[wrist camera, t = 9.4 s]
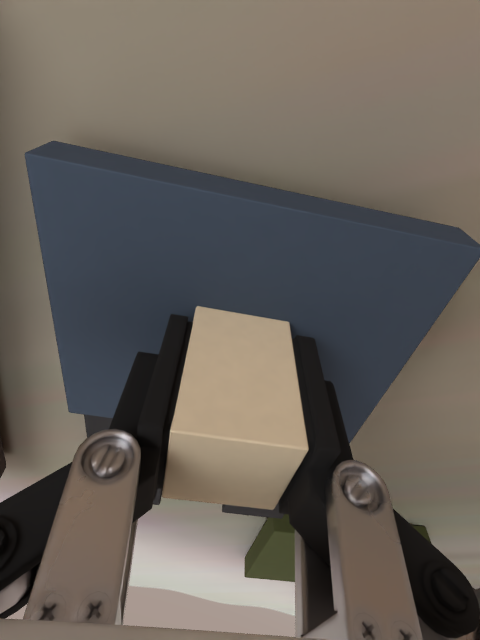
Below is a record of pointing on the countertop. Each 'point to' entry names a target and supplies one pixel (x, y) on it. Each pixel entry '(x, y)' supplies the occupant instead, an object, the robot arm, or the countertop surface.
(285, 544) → the olive tile
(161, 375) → the robot arm
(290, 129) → the countertop surface
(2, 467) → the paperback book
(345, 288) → the slate tile
